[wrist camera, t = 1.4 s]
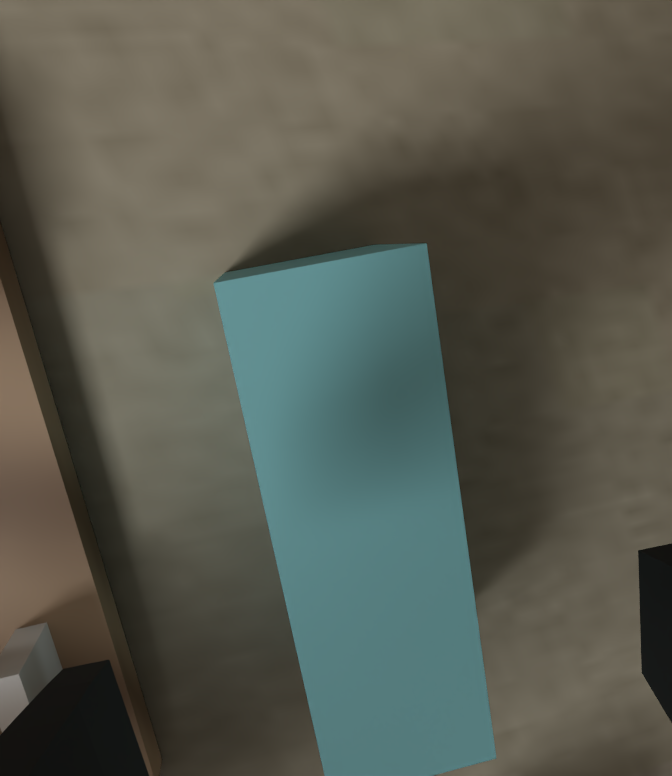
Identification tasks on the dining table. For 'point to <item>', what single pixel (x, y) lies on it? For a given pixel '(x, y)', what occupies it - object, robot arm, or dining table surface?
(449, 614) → the teal rectangular block
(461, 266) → the dining table surface
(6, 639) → the wooden bracket tray
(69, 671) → the robot arm
